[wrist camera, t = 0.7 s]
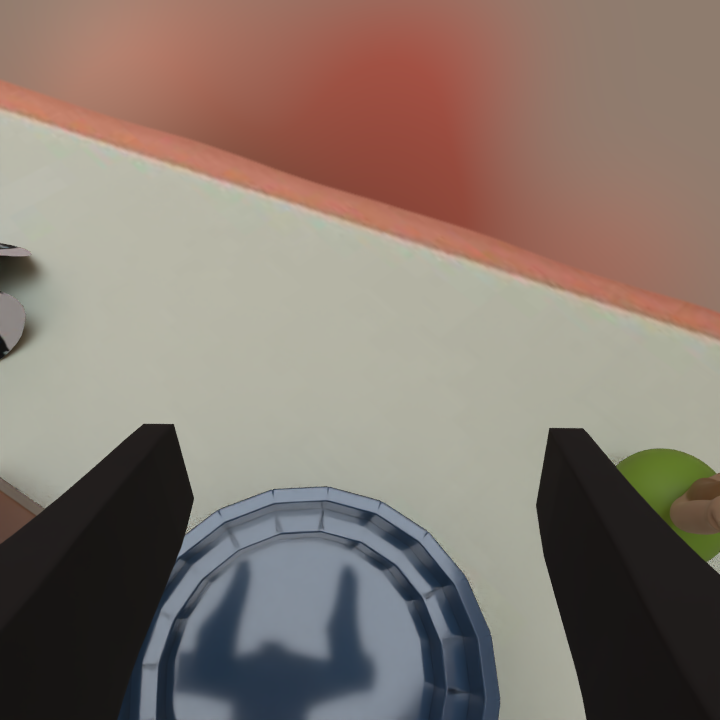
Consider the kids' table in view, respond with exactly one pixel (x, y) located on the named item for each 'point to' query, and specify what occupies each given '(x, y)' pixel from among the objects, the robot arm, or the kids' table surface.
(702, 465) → the snail figurine
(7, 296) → the decorative butterfly
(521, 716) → the kids' table surface
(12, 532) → the block
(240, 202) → the kids' table surface
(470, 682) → the bowl
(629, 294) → the kids' table surface
